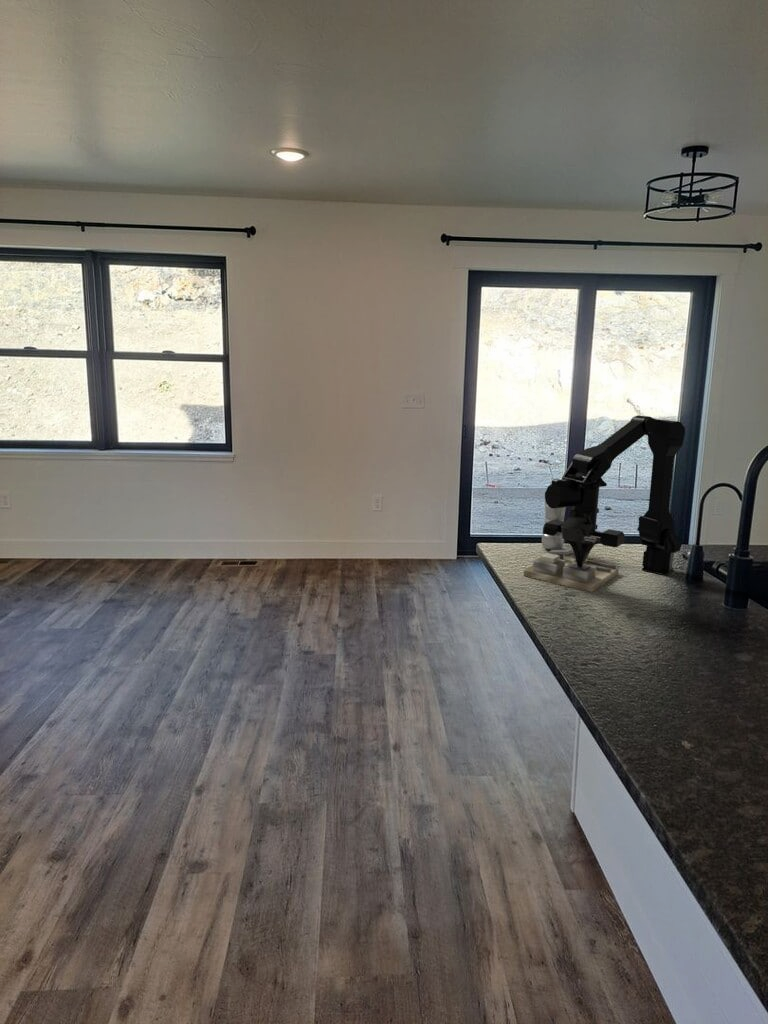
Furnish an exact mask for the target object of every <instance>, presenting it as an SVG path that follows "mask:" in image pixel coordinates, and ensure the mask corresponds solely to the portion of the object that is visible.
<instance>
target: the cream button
mask: <svg viewBox="0 0 768 1024" xmlns="http://www.w3.org/2000/svg"><path fill="white" fill-rule="evenodd" d="M539 558H540V561H541V562H546V563H550V564H555V563H557V562H559V558H560V556H559V555H554V554H549V553H548V552H546V553H544V554H542V555H541V554H540V557H539Z"/></svg>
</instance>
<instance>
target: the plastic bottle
mask: <svg viewBox="0 0 768 1024" xmlns="http://www.w3.org/2000/svg"><path fill="white" fill-rule="evenodd" d="M551 484H552V481H551V482H550V485H551ZM566 508H567V507H564V508H550V507H549V506H548V505H547V503H546V500H545V499H544V510H545V511H544V512H545V514H544V515H545V519H544V520H545V521H544V524H545V523H547V522H549V521H552V520H558V521H564V522H565V515H566V514H565V513H566ZM541 536H542V537H541V546H542V548H544V549H545V550H550V551H551V550H562V548H564V547H563V546H564V544H565V540H564V539H563V538H562V533H560V532H558V533H557V534H556V535H554V536H551V535H546V534H543V533H542V535H541Z"/></svg>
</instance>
